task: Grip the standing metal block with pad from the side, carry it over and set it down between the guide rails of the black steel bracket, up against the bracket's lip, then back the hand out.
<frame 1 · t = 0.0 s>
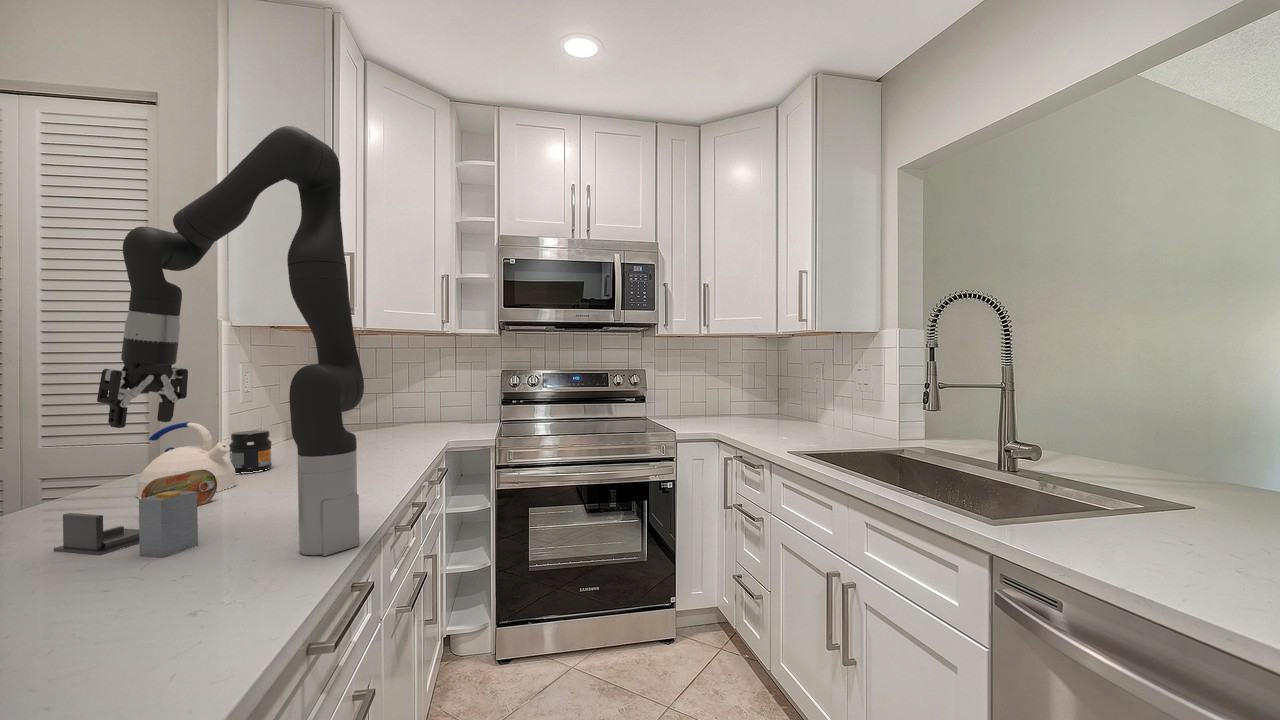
hand: (141, 424, 98), 22 cm above the worktop, tool pointing down, fingers open, 8 cm apart
kettle: (189, 491, 139), on the worktop
tin: (180, 510, 121), on the worktop
supplement container: (251, 471, 162), on the worktop
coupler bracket: (113, 542, 99), on the worktop
metal block with pad: (169, 550, 94), on the worktop
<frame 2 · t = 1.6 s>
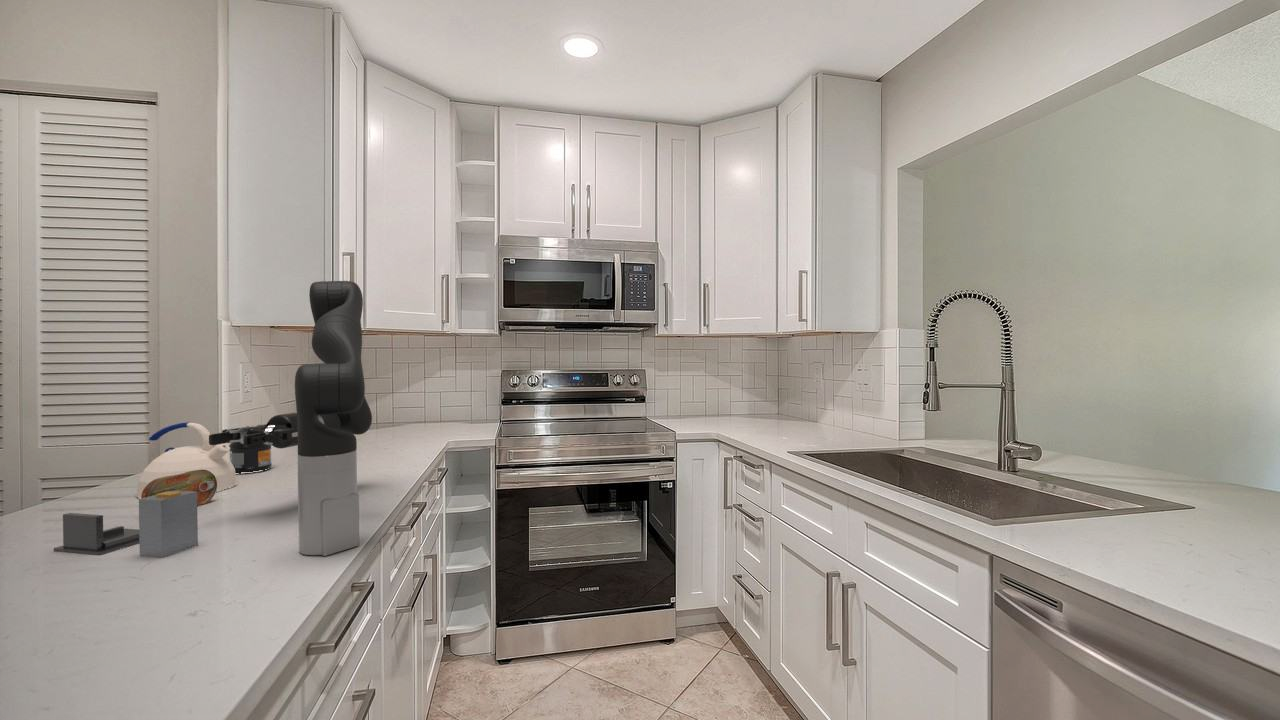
hand: (227, 440, 105), 18 cm above the worktop, tool horizontal, fingers open, 8 cm apart
nothing on the worktop moved.
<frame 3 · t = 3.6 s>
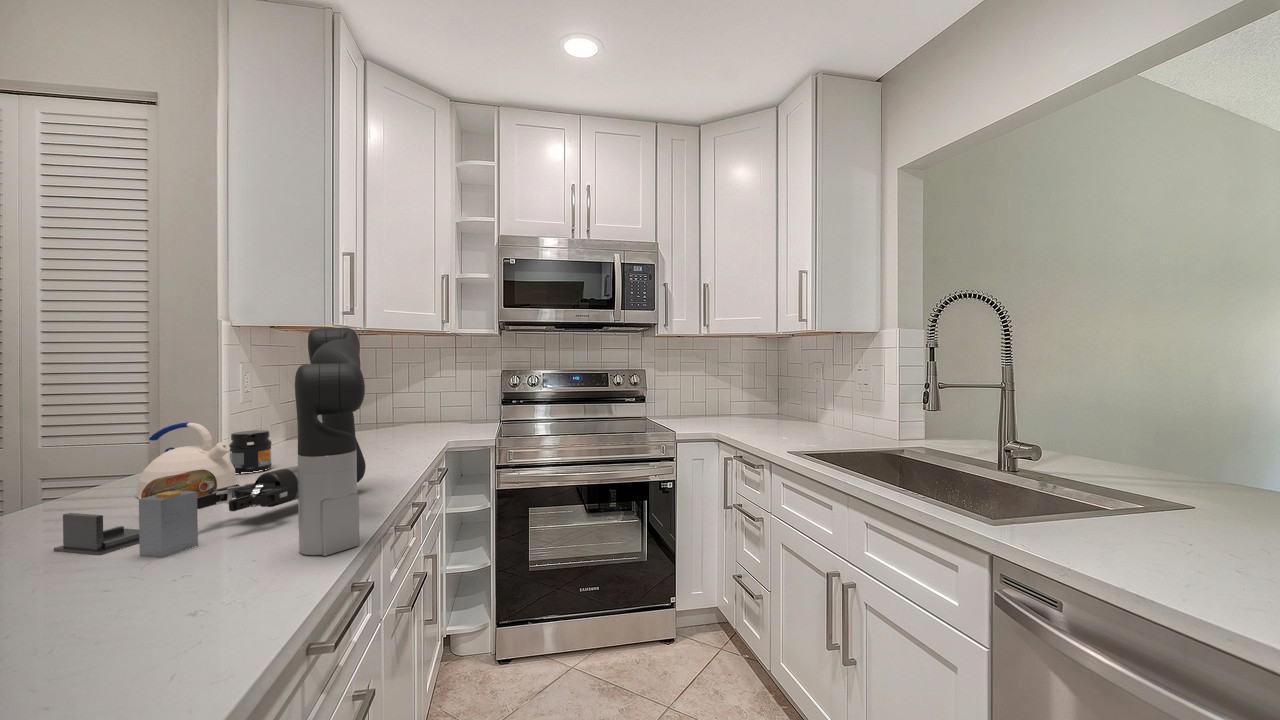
hand: (212, 505, 102), 6 cm above the worktop, tool horizontal, fingers open, 8 cm apart
nothing on the worktop moved.
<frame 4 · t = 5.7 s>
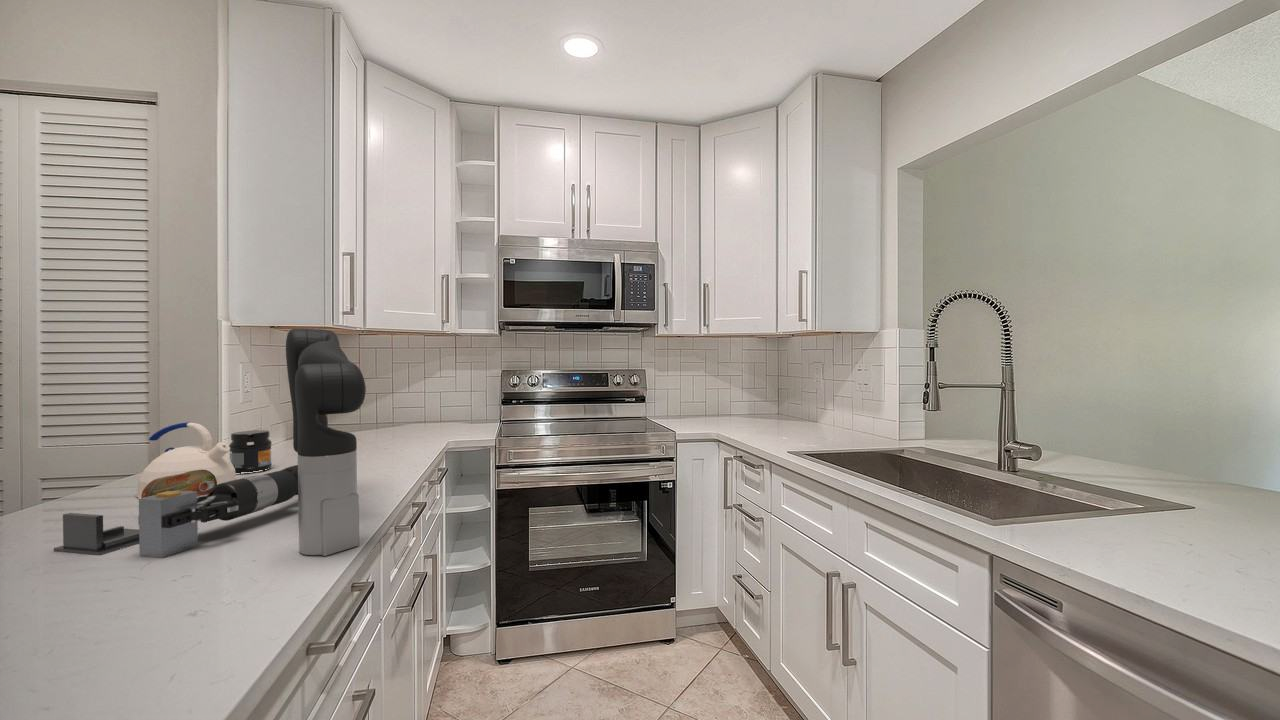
hand: (152, 521, 92), 6 cm above the worktop, tool horizontal, fingers closed on metal block with pad, 5 cm apart
metal block with pad: (169, 550, 94), on the worktop, touching gripper
everything else where it was.
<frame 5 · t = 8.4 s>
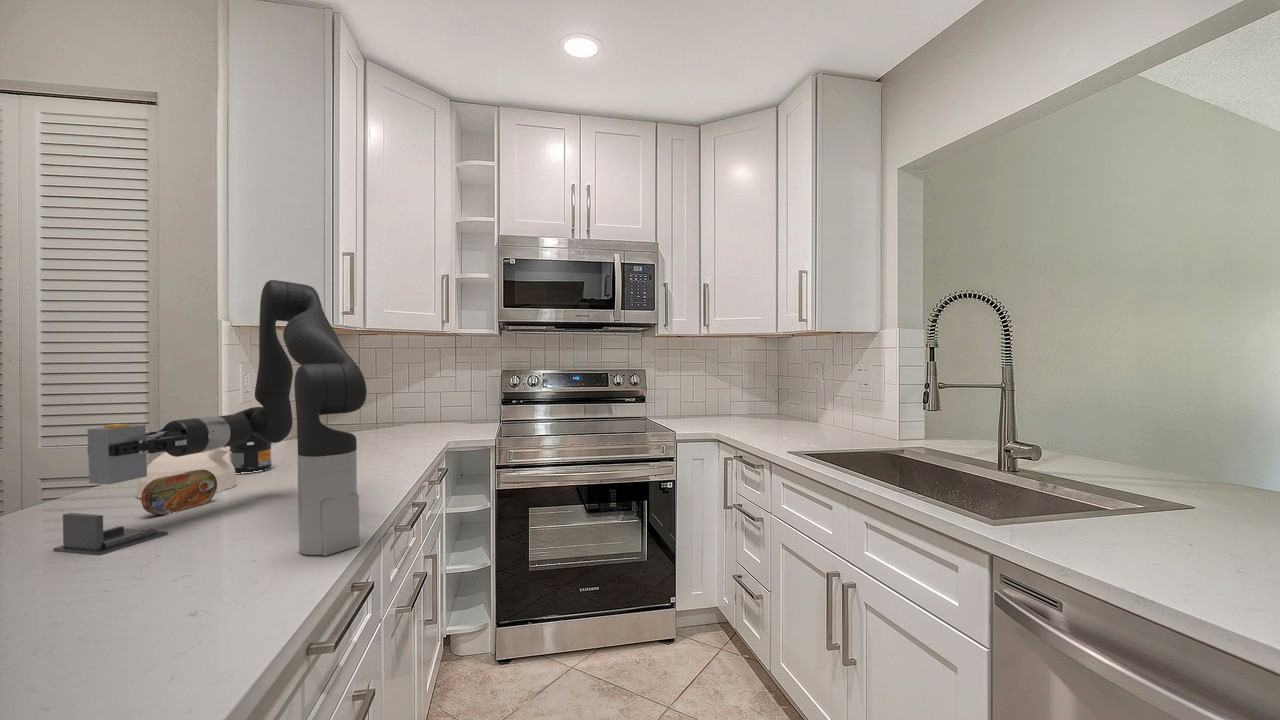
hand: (100, 450, 97), 18 cm above the worktop, tool horizontal, fingers closed on metal block with pad, 5 cm apart
metal block with pad: (118, 479, 99), point 12 cm above the worktop, touching gripper
everything else where it was.
when the fingers open (8 cm above the worktop, at t = 10.9 s): metal block with pad drops 1 cm, resting on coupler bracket.
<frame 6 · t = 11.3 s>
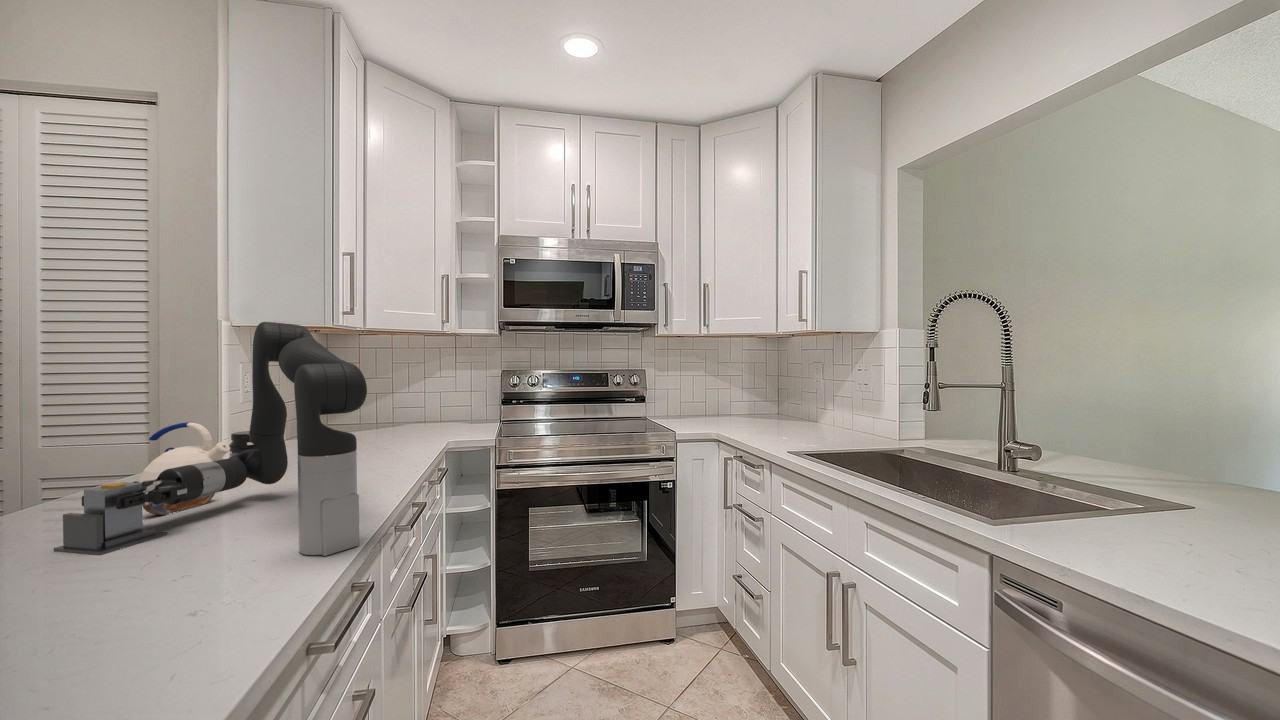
hand: (100, 502, 97), 8 cm above the worktop, tool horizontal, fingers open, 8 cm apart
metal block with pad: (114, 539, 99), resting on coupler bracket
everything else where it was.
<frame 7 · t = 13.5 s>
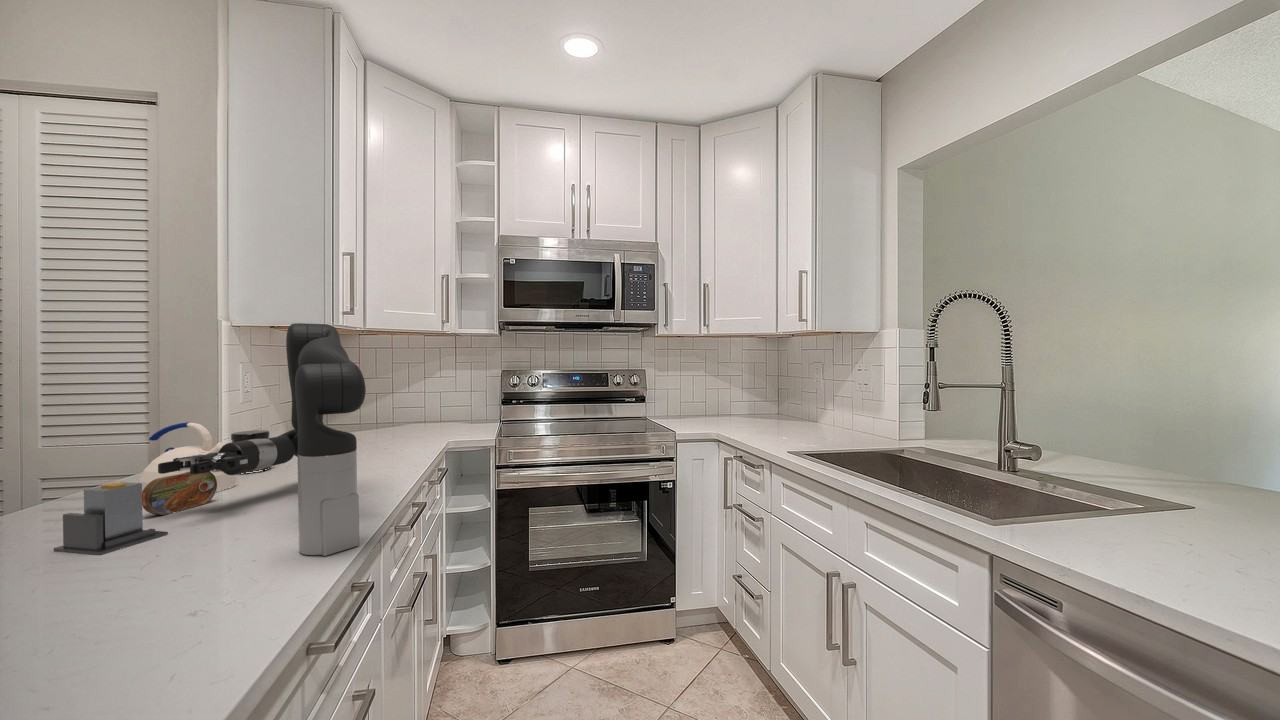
hand: (175, 469, 110), 12 cm above the worktop, tool horizontal, fingers open, 8 cm apart
nothing on the worktop moved.
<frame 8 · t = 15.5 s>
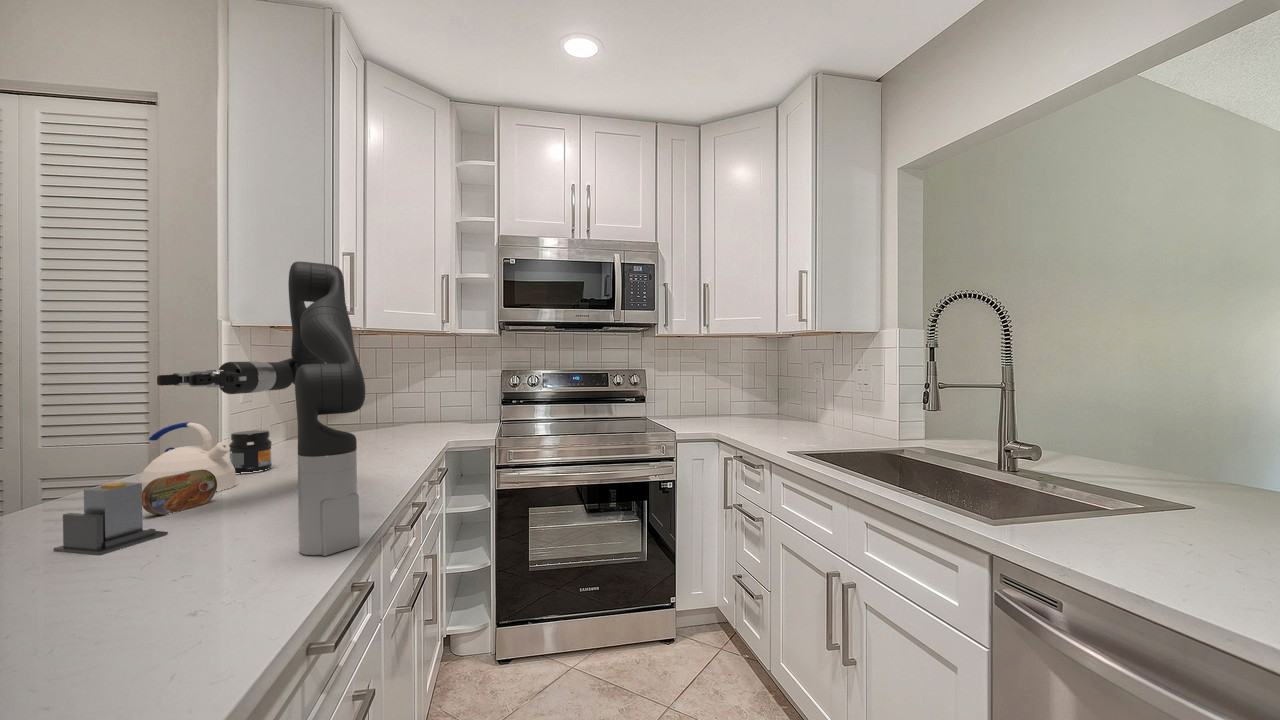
hand: (174, 380, 110), 30 cm above the worktop, tool horizontal, fingers open, 8 cm apart
nothing on the worktop moved.
at the end: metal block with pad 0.2 cm off-centre on the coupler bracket, point 0.5 cm above the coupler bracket's base; metal block with pad tilted 0°; the gripper is holding nothing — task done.
